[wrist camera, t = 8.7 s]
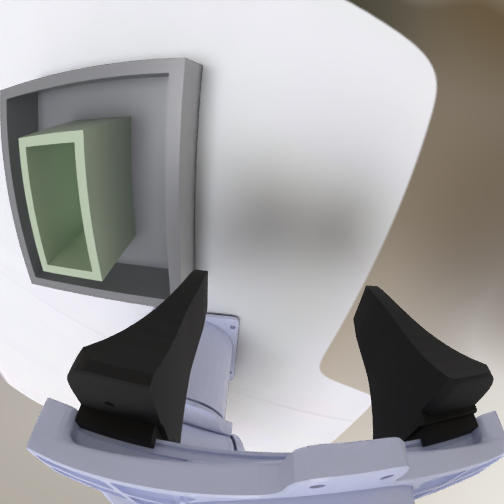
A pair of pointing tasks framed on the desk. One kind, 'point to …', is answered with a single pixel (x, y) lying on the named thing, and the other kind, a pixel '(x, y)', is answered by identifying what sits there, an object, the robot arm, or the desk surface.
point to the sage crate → (80, 194)
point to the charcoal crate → (142, 166)
